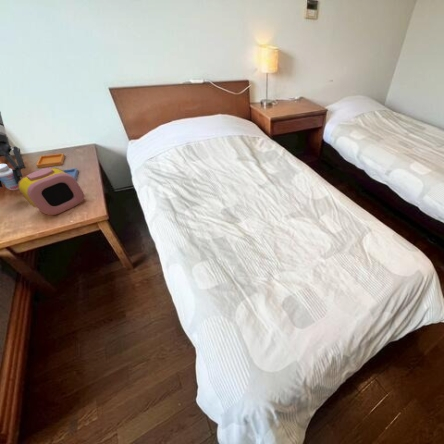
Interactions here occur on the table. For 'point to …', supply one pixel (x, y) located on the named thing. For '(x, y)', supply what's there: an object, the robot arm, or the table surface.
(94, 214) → the table surface
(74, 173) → the blue tray
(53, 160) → the amber tray
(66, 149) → the table surface
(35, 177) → the alarm clock
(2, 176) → the pill bottle
